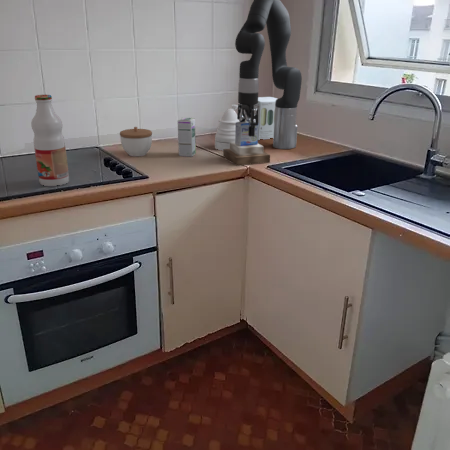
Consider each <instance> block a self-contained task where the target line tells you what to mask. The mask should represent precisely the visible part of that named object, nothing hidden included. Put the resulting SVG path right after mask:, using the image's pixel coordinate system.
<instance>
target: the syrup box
mask: <svg viewBox="0 0 450 450" xmlns="http://www.w3.org/2000/svg"><path fill="white" fill-rule="evenodd" d="M177 138H178V139H177V140H178V142H177V143H178V144H177V145H178V156H179V157H190V158H192V157H193V156H194V155H195V154H196V153H197V146H196V145H197V143H196V118H194V117H181V118H179V119H178V120H177Z"/></svg>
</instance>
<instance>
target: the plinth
mask: <svg viewBox="0 0 450 450" xmlns="http://www.w3.org/2000/svg"><path fill="white" fill-rule="evenodd" d="M264 149H265V147H264V145H262V144H260V143H258V144H256V145H247V146H239V145H237V144H235V142H230V149H223V151H222V152H223V153H222V155H223V156H222V157H224V158H225V159H226V160H228V161H229V162H230V163H232V164H234V165H235V166H247V165H257V164H267V163H268V164H269V163H271V154H269V153H267V152H266V151H264Z"/></svg>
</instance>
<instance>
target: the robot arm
mask: <svg viewBox="0 0 450 450" xmlns="http://www.w3.org/2000/svg"><path fill="white" fill-rule="evenodd" d="M290 19H291V18H290V14H289V11H288V9H287V7H286V6H285V5H284V4H283V2H282V1H281V0H253V1H252V3H251V5H250V8H249V11H248V15H247V18H246V21H245V22H244V23H243V26H242V27H241V29H240V30H239V31H238V33H237V35H236V38H235V43H234V46H235V47H234V48H235V50H236V51H237V52H238V53H239V54H245V55H247V54H248V55H251V56H250V58H249V59H248V60H243V61H241V62H240V63H239V73H238V74H239V75H238V76H239V77H238V86H237V87H238V91H237V92H238V93H237V94H238V95H237V100H238V101H237V102H238V104H237V105H238V108H237V119H238V120H239V122H245V121H248V124H249V136H250V137H251V136H254V135H255V126H256V125H258V109H254V105H255V104H257V103H258V97H259V89H260V88H259V87H260V86H259V83H260V82H259V71H260V64H261V61H262V60H261V59H262V56H263V53H264V50H265V47H266V41H265V38H264V37H265V36H264V35H263V34H261V33H260V32H261V31H264V29H265V28H266V31H267V37H268V42H269V50H270V51H269V52H270V57H271V74H272V77H271V78H272V82H273V85H274V86H275V87H276V88H277V89H278V90H282V91H283V93H282V96H281V97H280V98H279V97H278V99H277V100H276V102H275V120H274V137H273V139H272V147H273V148H276V149H279V150H280V149H281V150H291V149H294V148H296V147H297V139H298V138H297V137H298V127H299V126H298V125H297V124H296V123H297V114H298V113H297V112H298V103H299V101H300V96H301V89H302V83H303V82H302V80H303V77H302V72H301V70H300V69H299V68H298V67H292V66H288V63H287V48H288V45H289V43H290V39H291V36H292V28H291V20H290ZM255 119H256V122H255ZM250 121H251V122H250Z"/></svg>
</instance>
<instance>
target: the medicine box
mask: <svg viewBox="0 0 450 450" xmlns="http://www.w3.org/2000/svg"><path fill="white" fill-rule="evenodd" d="M250 122H251V121H250ZM255 122H256V121H255ZM258 125H259V123H258ZM258 125H256V126H255V135H254V136H251V137H250V136H249V124H248V121H245V122H236V129H235V144H237V145H239V146H247V145H256V144H259V142H258V141H259V140H258Z"/></svg>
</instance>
